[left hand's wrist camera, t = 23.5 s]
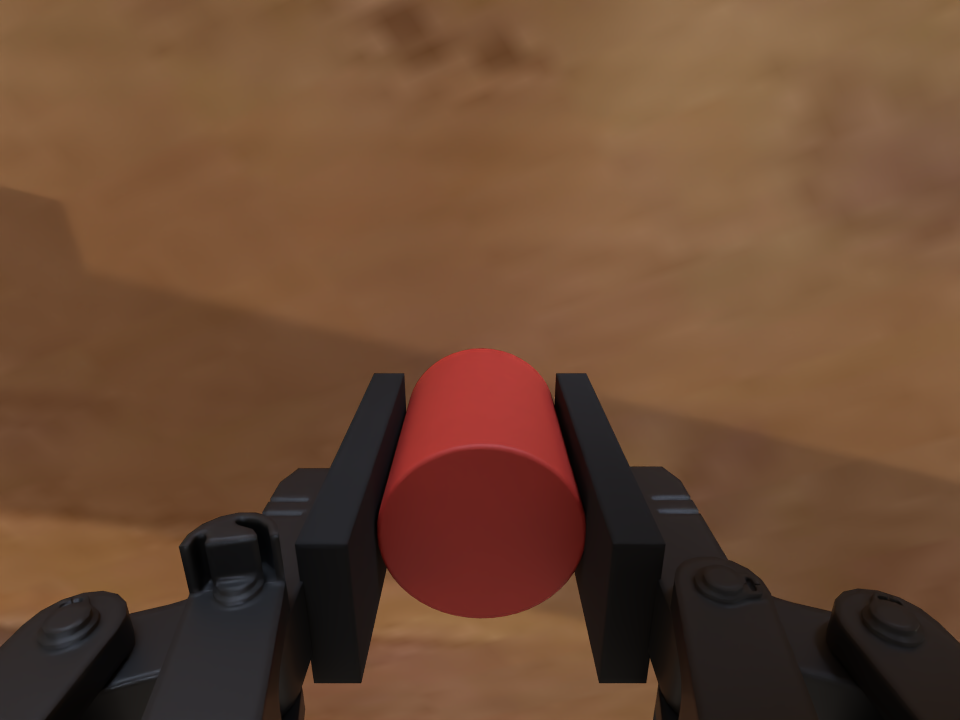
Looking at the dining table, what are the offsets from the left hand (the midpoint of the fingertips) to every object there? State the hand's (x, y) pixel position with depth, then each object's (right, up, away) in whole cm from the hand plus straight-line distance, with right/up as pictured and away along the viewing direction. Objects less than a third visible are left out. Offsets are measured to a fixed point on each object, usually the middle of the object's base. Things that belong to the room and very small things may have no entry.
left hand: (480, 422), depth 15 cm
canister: (0, 0, 0) cm, 0 cm away
